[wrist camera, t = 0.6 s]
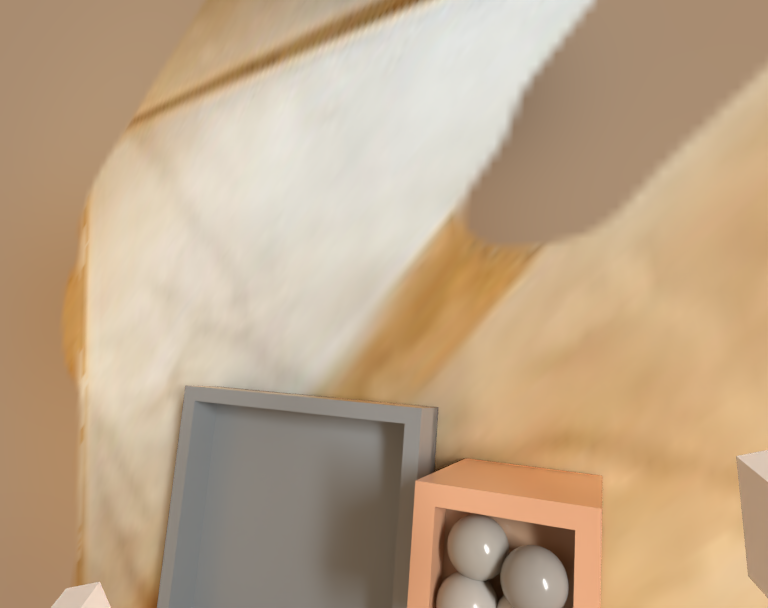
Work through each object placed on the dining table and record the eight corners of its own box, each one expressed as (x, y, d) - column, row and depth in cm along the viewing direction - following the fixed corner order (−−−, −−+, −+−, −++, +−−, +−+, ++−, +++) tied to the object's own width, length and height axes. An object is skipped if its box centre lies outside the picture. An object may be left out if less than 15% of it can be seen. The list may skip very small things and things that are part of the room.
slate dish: (217, 386, 42) (185, 385, 39) (438, 407, 35) (421, 408, 32) (187, 633, 39) (150, 654, 36) (419, 708, 32) (399, 742, 29)
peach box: (466, 458, 34) (408, 483, 24) (602, 475, 31) (601, 513, 21) (458, 592, 33) (395, 678, 23) (599, 624, 30) (597, 740, 20)
